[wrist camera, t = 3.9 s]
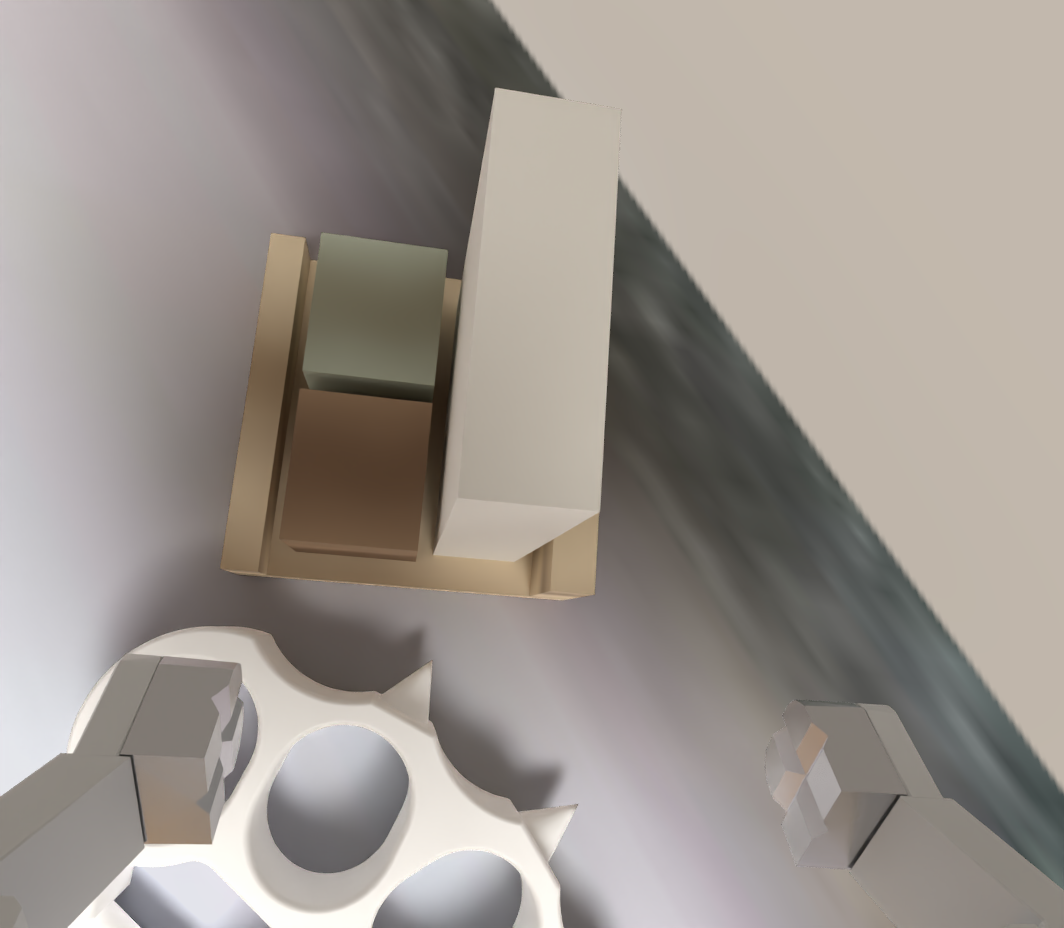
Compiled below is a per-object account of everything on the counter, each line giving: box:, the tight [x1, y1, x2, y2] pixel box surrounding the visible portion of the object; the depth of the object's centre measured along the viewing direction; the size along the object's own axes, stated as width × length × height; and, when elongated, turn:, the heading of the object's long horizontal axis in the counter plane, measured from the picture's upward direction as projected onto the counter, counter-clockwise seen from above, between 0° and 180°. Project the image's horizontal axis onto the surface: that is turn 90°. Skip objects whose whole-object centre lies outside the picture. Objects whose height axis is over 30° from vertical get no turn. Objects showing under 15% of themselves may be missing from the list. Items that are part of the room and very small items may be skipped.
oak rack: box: [220, 233, 599, 600], centre depth 24 cm, size 10×10×4 cm
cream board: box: [433, 88, 622, 562], centre depth 20 cm, size 8×2×11 cm, turn 176°
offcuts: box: [279, 232, 448, 562], centre depth 23 cm, size 8×4×4 cm, turn 176°
